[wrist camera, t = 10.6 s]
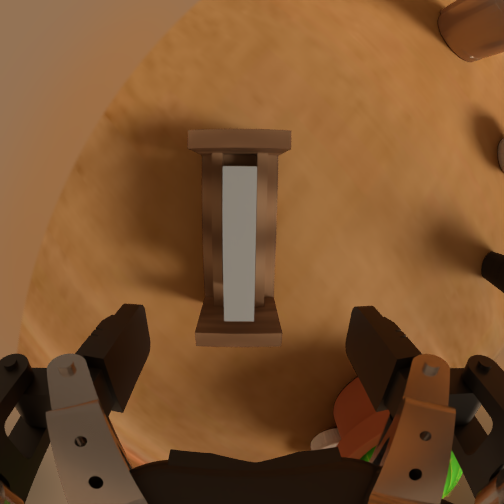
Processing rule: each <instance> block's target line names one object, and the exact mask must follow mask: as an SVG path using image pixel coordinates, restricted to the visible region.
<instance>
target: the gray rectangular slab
mask: <svg viewBox="0 0 504 504" xmlns="http://www.w3.org/2000/svg"><path fill="white" fill-rule="evenodd" d="M256 202H257V166H223V191H222V224H223V294H224V321H254V301H255V254H256Z"/></svg>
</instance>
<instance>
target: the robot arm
mask: <svg viewBox="0 0 504 504" xmlns="http://www.w3.org/2000/svg"><path fill="white" fill-rule="evenodd" d="M440 13H441V15H440V17H439V19H438V26H439V30H440V32H441V34H442V36H443V38H444V40H445V41H446V43H447V44H448V46H449V47H450V48H451V49H452V50H453V51H454V52H455V53H456V54H457V55H458V56H459V57H460V58H462V59H463V60H465V61H468V62H473V61H476V60H480V59H482V58H485V57H489V56H492V55H495V54H498V53H502V52H504V0H456V1H455V2H453V3H451V4H450V5H448V6H447V7H445V8H444V9H442V10H441V11H440ZM149 352H150V337H149V331H148V325H147V319H146V313H145V308H144V306H143V305H137V304H123V305H122V306H121V308H120V309H119V310H118V311H117V313H116V314H115V315H111V316H109V317H107V318H106V319H104V320H102V321H101V323H100V324H99V325H98V326H97V327H96V330H94V331H93V332H92V333H91V336H89V337H88V338H87V340H86V341H85V342H84V343H83V344H82V346H81V347H80V348H79V349H78V351H77V352H76V353H75V354H64V355H61V356H58V357H56V358H55V359H53V360H52V361H51V362H50V363H49V365H48V367H47V368H31V366H30V364H29V361H28V359H27V357H25V356H24V355H22V354H11V355H8V356H6V357H4V358H3V359H1V360H0V504H25V501H26V498H27V496H28V493H29V491H30V488H31V486H32V483H33V480H34V478H35V476H36V473H37V471H38V468H39V466H40V464H41V461H42V459H43V457H44V455H45V453H46V450H47V448H48V446H49V444H50V442H51V447H52V451H53V455H54V459H55V463H56V467H57V470H58V474H59V478H60V481H61V484H62V487H63V490H64V493H65V496H66V499H67V502H68V504H453V503H451V502H448V501H446V500H443V499H442V495H443V491H444V487H445V483H446V478H447V474H448V469H449V463H450V457H451V451H452V452H453V454H454V456H455V458H456V460H457V461H458V463H459V465H460V467H461V469H462V471H463V474H464V475H465V478H466V480H467V482H468V484H469V486H470V488H471V490H472V493H473V495H474V497H475V503H474V504H504V371H503V370H502V369H501V368H500V367H499V366H498V365H497V363H496V362H494V361H493V360H492V359H490V358H488V357H486V356H482V355H474V356H472V357H470V358H469V360H468V362H467V364H466V366H465V368H450V367H449V365H448V364H447V362H446V361H444V360H443V359H442V358H440V357H438V356H435V355H431V354H421V352H420V351H419V350H418V349H417V348H416V347H415V345H414V344H413V343H412V342H411V341H410V340H409V339H408V337H406V335H405V334H404V333H403V332H402V331H401V329H400V328H399V327H398V326H397V325H396V324H395V323H394V322H392V321H391V320H389V319H387V318H386V317H383V316H382V315H381V314H380V313H379V312H378V311H377V310H376V308H375V307H374V306H359V307H354V308H353V310H352V313H351V319H350V324H349V329H348V333H347V338H346V353H347V356H348V358H349V360H350V362H351V364H352V366H353V368H354V370H355V372H356V373H357V375H358V377H359V379H360V381H361V383H362V385H363V387H364V389H365V391H366V393H367V395H368V397H369V399H370V401H371V403H372V405H373V407H374V409H375V411H376V412H380V411H384V410H389V412H390V414H389V416H388V418H387V420H386V423H385V425H384V428H383V431H382V433H381V436H380V438H379V441H378V443H377V445H376V448H375V450H374V452H373V455H372V457H371V459H370V461H369V462H367V461H364V460H360V459H355V458H348V457H341V455H340V452H339V449H338V447H333V448H326V449H319V450H311V451H301V452H296V453H293V454H289V455H286V456H282V457H278V458H275V459H271V460H267V461H262V462H255V463H254V462H248V461H243V460H238V459H233V458H229V457H224V456H220V455H216V454H212V453H200V452H189V451H180V450H170V454H169V459H168V460H162V461H156V462H151V463H147V464H144V465H141V466H138V467H136V468H133V466H132V464H131V463H130V461H129V459H128V457H127V455H126V453H125V451H124V449H123V447H122V445H121V443H120V441H119V439H118V437H117V434H116V432H115V430H114V428H113V425H112V423H111V421H110V419H109V417H108V416H109V414H110V412H111V410H112V411H116V412H121V413H123V412H124V409H125V407H126V405H127V402H128V400H129V398H130V395H131V393H132V391H133V388H134V386H135V384H136V382H137V379H138V377H139V375H140V373H141V371H142V368H143V366H144V364H145V362H146V360H147V357H148V355H149ZM481 404H482V406H483V407H484V408H485V410H486V411H487V412H488V414H489V415H490V417H491V418H492V421H493V428H492V431H491V432H490V434H489V435H487V434H486V432H485V431H484V429H483V428H482V426H481V424H480V423H479V422H478V420H477V418H476V417H475V414H476V412H477V411H478V409H479V408H480V406H481ZM14 407H16V409H17V410H18V412H19V413H20V415H21V416H20V418H19V420H18V421H17V423H16V425H15V426H14V428H13V430H12V431H11V433H10V435H9V437H7V435H6V433H5V428H4V425H5V421H6V419H7V417H8V416H9V415H10V413H11V412H12V410H13V408H14Z"/></svg>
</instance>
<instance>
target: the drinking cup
mask: <svg viewBox="0 0 504 504" xmlns="http://www.w3.org/2000/svg"><path fill="white" fill-rule="evenodd" d="M482 276H483V277H484V278H485V279H486V280H488V281H489V282H490V283H492V284H493V285H494V286H496V287H497V288H498V289H499V290H501V291H502V292H503V293H504V255H502V254H499V253H495V252H490V253H488V254H487V256H486V257H485V259H484V261H483V264H482Z"/></svg>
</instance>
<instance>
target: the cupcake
mask: <svg viewBox="0 0 504 504" xmlns="http://www.w3.org/2000/svg"><path fill="white" fill-rule="evenodd" d="M498 160H499V164H500V167H501V169H502V171H503V172H504V139H502V140H501V141H500V143H499V145H498Z"/></svg>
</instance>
